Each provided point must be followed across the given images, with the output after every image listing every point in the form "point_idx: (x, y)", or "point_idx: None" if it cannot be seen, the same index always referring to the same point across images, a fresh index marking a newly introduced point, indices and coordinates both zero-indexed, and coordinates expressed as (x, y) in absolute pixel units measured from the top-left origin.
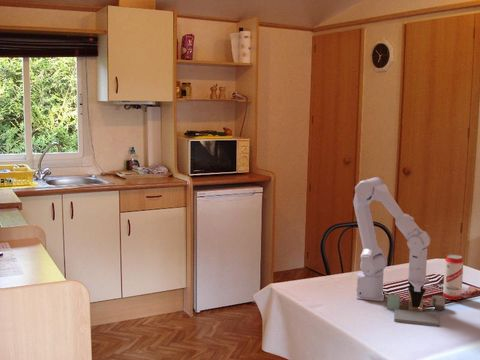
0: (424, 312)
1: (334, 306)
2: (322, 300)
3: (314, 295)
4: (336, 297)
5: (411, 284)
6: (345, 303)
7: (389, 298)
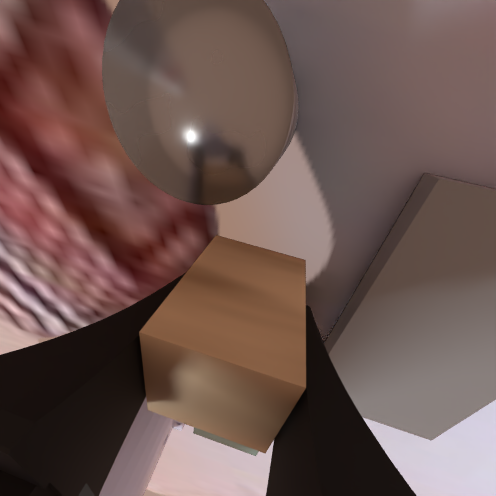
0: (379, 282)
1: (253, 475)
2: (213, 475)
3: (183, 472)
4: (184, 450)
5: (103, 462)
6: (226, 453)
7: (256, 451)
